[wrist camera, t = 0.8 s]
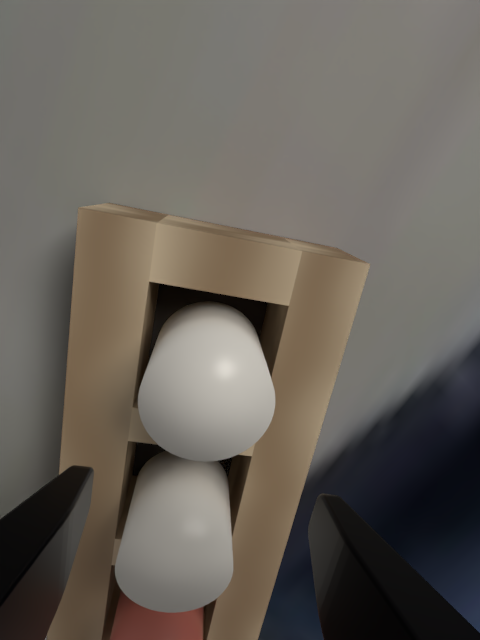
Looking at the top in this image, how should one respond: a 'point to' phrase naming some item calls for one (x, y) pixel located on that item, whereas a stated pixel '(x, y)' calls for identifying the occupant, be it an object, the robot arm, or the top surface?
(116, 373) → the beech block
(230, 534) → the plug
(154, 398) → the plug
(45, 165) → the top surface
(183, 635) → the red plug
